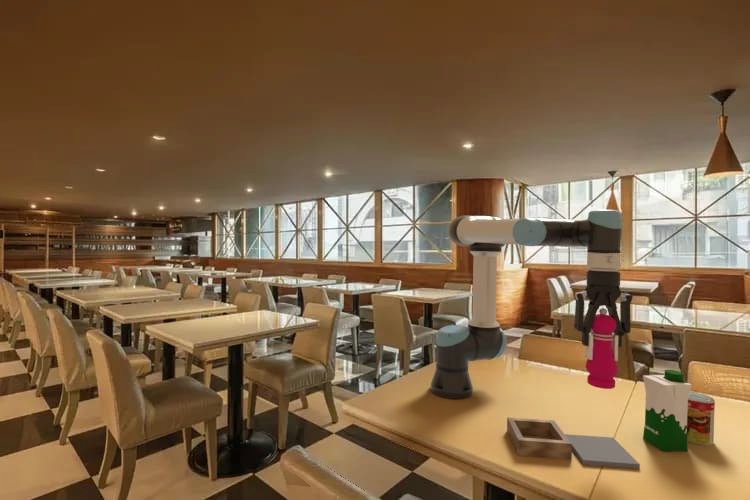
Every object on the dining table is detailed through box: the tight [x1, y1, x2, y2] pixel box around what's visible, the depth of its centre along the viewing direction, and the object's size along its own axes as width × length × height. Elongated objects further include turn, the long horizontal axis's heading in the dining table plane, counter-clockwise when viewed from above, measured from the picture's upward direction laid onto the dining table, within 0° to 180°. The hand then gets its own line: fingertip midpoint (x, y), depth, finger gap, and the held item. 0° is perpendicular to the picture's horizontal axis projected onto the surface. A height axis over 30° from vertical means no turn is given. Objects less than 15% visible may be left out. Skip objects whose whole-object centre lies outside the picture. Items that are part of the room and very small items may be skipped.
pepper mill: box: [585, 308, 619, 390], centre depth 100 cm, size 7×7×20 cm
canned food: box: [687, 391, 716, 447], centre depth 109 cm, size 8×8×12 cm
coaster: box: [564, 433, 641, 470], centre depth 101 cm, size 13×13×1 cm
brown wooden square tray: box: [506, 416, 573, 460], centre depth 105 cm, size 13×13×4 cm
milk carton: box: [642, 369, 693, 453], centre depth 106 cm, size 9×9×20 cm
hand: (601, 358), depth 101 cm, fingers closed on pepper mill, 5 cm apart
